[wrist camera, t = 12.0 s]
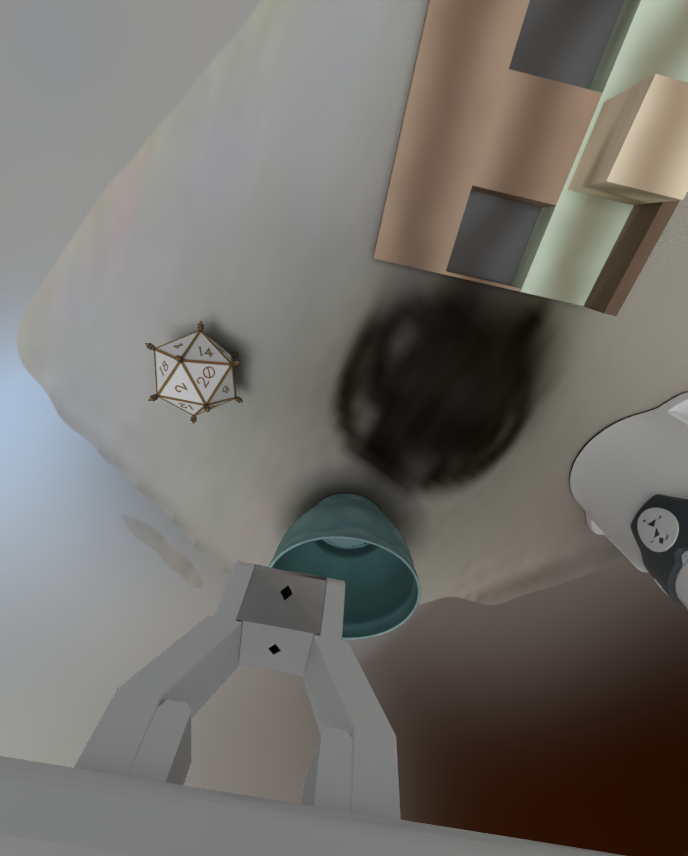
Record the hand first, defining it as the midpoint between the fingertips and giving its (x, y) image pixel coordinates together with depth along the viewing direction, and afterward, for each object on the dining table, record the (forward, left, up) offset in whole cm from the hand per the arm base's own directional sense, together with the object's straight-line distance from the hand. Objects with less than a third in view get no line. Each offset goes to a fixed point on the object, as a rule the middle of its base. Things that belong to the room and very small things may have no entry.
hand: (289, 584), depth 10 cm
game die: (+13, +6, -29) cm, 33 cm away
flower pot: (-5, +24, -29) cm, 38 cm away
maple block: (-16, -17, -26) cm, 35 cm away
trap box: (-11, -16, -29) cm, 35 cm away
